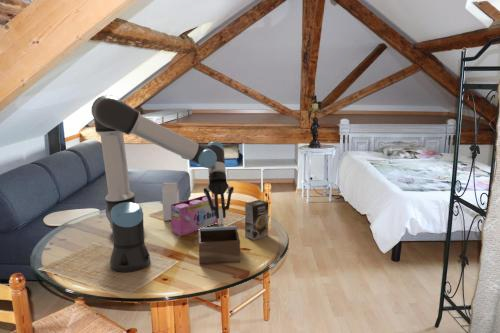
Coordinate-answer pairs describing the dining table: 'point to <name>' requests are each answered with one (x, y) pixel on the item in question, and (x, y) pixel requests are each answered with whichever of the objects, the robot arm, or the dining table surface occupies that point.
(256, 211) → the coffee box
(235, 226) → the lid
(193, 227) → the gum box
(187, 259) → the dining table surface
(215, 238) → the walnut box
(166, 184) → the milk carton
